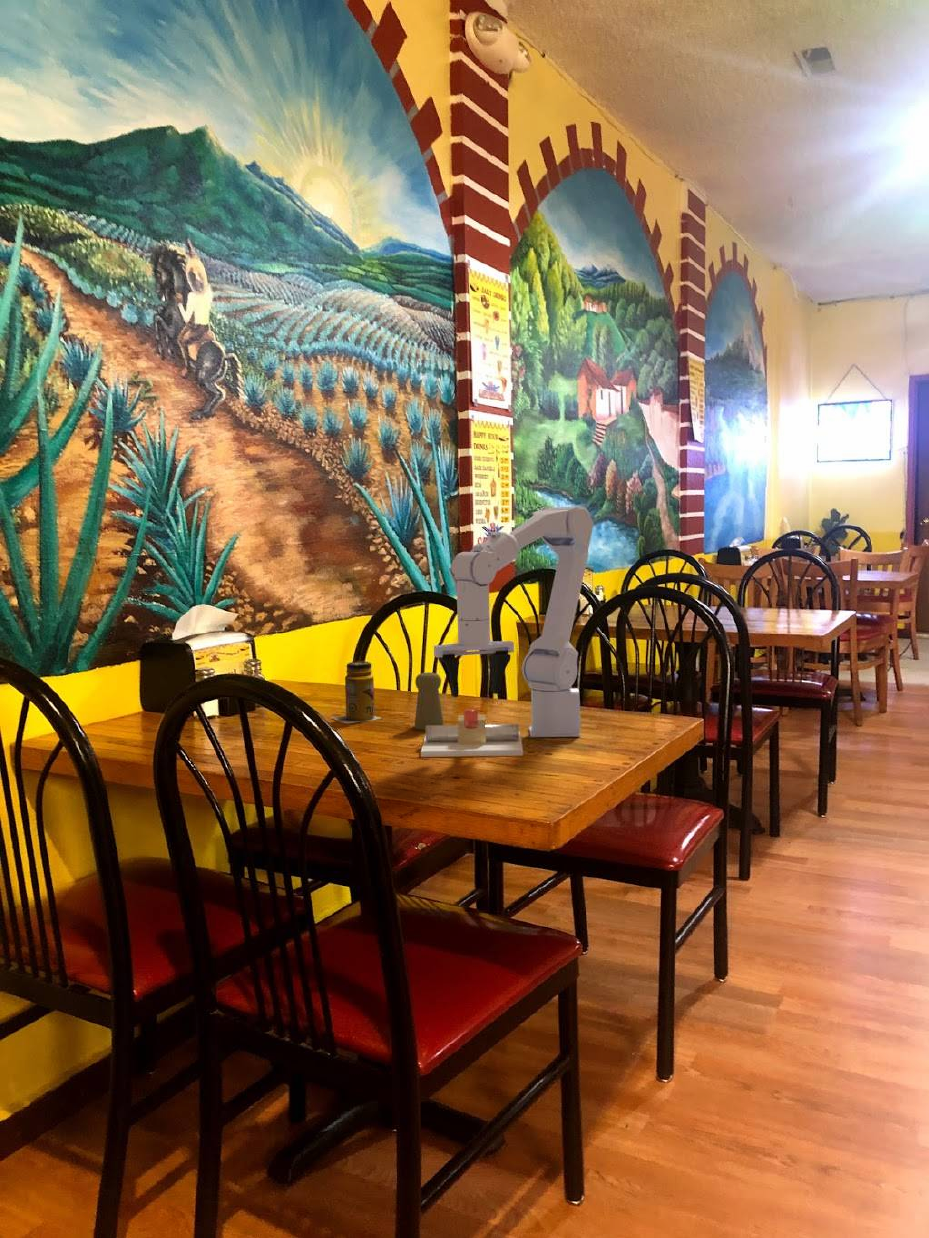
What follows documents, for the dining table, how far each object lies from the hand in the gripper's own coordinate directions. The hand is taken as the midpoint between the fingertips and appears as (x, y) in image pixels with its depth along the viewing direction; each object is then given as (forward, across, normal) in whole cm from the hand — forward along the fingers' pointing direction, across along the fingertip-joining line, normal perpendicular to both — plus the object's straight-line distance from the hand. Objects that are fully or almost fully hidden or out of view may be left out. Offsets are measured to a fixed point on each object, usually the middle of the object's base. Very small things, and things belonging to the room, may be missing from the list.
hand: (475, 694), depth 174 cm
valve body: (+10, 0, -4) cm, 11 cm away
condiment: (+11, +14, -37) cm, 41 cm away
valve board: (+10, 0, -4) cm, 11 cm away
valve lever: (+5, +1, +1) cm, 5 cm away
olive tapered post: (+10, +2, -24) cm, 26 cm away
